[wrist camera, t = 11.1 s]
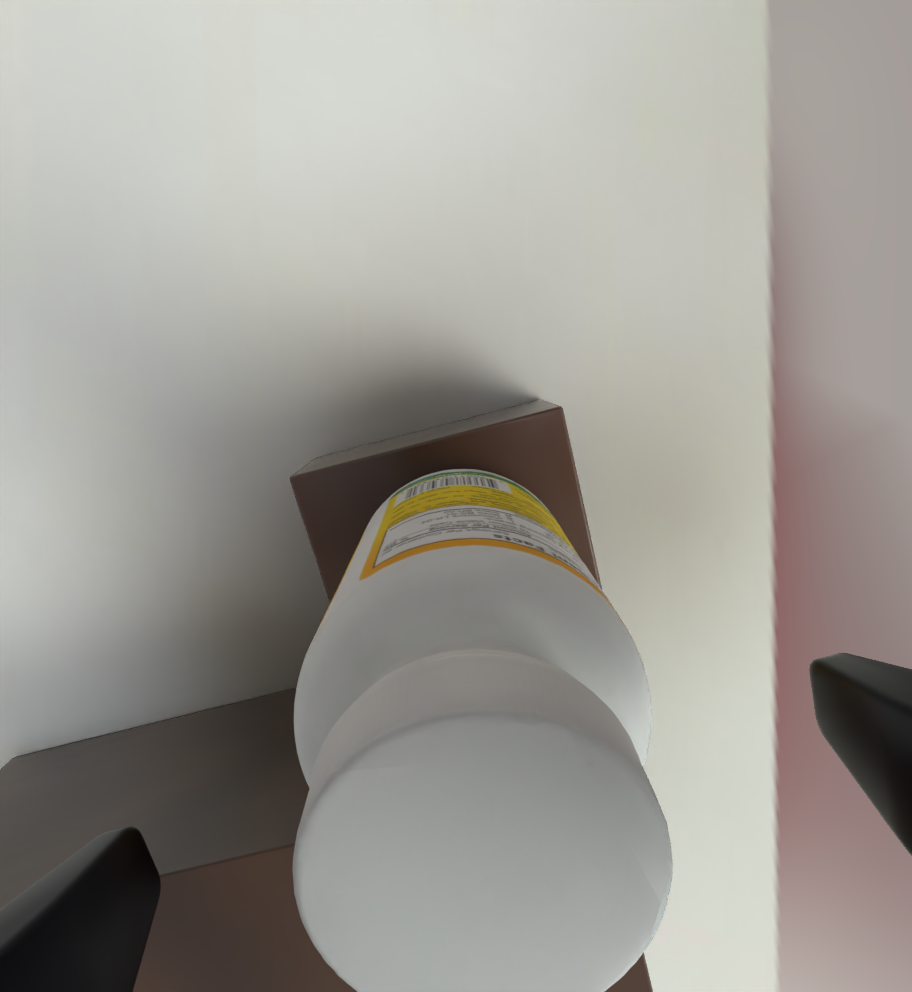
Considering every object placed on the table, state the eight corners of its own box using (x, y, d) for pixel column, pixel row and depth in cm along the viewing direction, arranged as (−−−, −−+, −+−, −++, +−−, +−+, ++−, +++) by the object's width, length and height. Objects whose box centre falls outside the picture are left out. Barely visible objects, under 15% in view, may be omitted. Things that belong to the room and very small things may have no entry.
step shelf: (542, 398, 18) (606, 421, 11) (648, 870, 21) (745, 1109, 14) (-82, 561, 18) (-393, 680, 12) (124, 991, 22) (-20, 1275, 15)
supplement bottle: (455, 421, 15) (476, 525, 5) (608, 561, 16) (855, 862, 6) (314, 576, 16) (116, 902, 6) (466, 701, 16) (496, 1155, 7)
